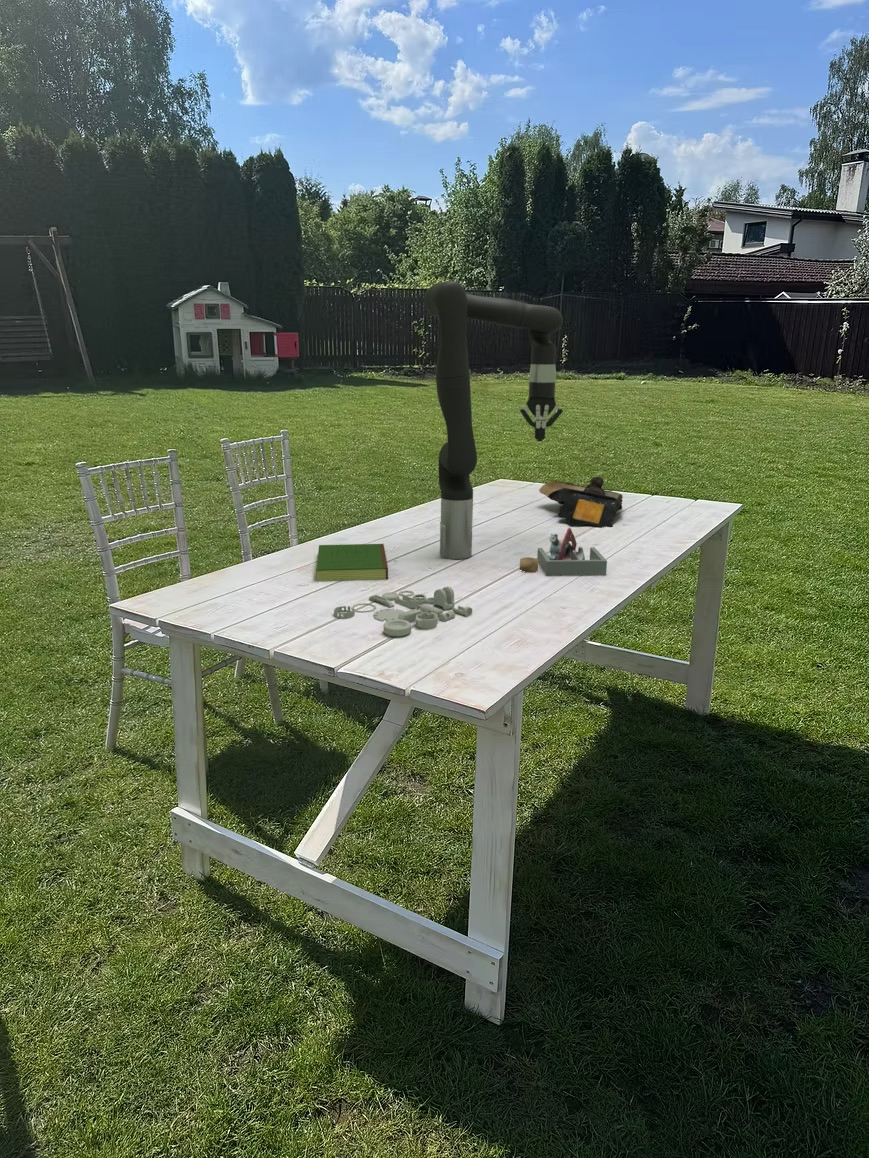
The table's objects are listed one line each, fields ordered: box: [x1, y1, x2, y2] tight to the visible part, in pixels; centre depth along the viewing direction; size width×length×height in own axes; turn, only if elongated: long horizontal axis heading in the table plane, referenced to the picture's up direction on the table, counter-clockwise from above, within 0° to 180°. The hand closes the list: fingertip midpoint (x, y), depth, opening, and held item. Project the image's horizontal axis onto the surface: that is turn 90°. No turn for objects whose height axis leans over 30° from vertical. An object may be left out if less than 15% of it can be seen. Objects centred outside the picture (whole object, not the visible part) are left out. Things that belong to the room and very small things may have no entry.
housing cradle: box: [536, 546, 608, 577], centre depth 218 cm, size 16×14×4 cm
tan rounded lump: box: [519, 556, 539, 573], centre depth 216 cm, size 5×5×3 cm
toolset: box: [538, 476, 624, 529], centre depth 280 cm, size 40×20×27 cm
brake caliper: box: [547, 526, 586, 560], centre depth 220 cm, size 11×11×12 cm
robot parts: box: [333, 586, 473, 638], centre depth 183 cm, size 25×25×5 cm
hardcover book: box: [315, 543, 389, 582], centre depth 218 cm, size 25×19×4 cm
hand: (539, 440), depth 231 cm, fingers closed
